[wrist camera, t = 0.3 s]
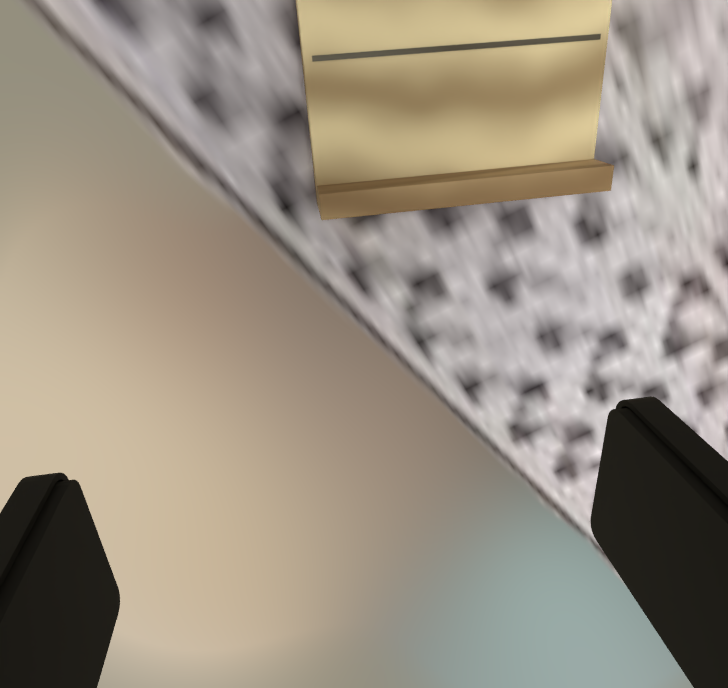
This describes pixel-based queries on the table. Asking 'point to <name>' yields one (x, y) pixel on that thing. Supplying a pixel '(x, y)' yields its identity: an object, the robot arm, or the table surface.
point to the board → (452, 101)
